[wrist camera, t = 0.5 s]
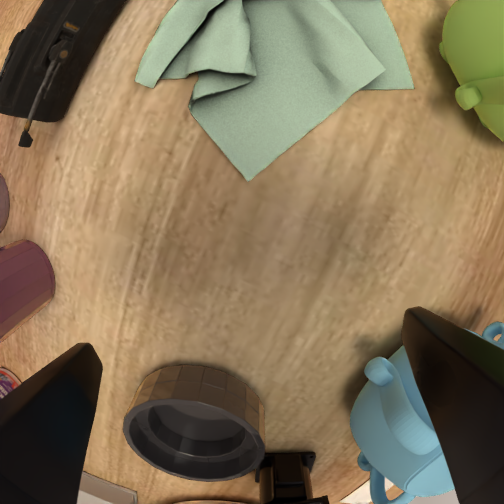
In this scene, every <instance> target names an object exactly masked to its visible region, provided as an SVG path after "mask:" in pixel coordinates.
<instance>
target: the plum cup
mask: <svg viewBox="0 0 504 504" xmlns="http://www.w3.org/2000/svg"><path fill="white" fill-rule="evenodd" d="M54 291H55V277H54V272H53V269H52V266H51V264H50V261H49V259H48V258H47V256H46V254H45V253H44V252H43V250H42V249H41V248H40V247H39V246H38V245H36V244H35V243H33V242H31V241H29V240H19V241H15V242H13V243H10V244H8V245H6V246H3V247H1V248H0V343H2V342H3V341H4V340H5V339H6V338H7V337H9V336H10V335H11V334H12V333H13V332H15V331H16V330H17V329H18V328H19V327H21V326H22V325H23V324H24V323H25V322H27V321H28V320H29V319H30V318H32V317H33V316H34V315H35V314H37V313H38V312H39V311H40V310H42V309H43V308H44V307H45V306H46V305H47V304H48V303H49V302H50V301H51V300H52V298H53V295H54Z"/></svg>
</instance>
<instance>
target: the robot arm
mask: <svg viewBox="0 0 504 504" xmlns="http://www.w3.org/2000/svg"><path fill="white" fill-rule="evenodd" d="M401 337H402V342H403V344H404V347H405V350H406V354H407V357H408V360H409V363H410V366H411V369H412V373H413V376H414V379H415V382H416V385H417V387H418V390H419V392H420V395H421V397H422V400H423V402H424V404H425V407H426V409H427V412H428V414H429V417H430V419H431V422H432V424H433V427H434V430H435V432H436V435H437V438H438V440H439V443H440V446H441V449H442V451H443V454H444V457H445V460H446V463H447V466H448V469H449V472H450V475H451V478H452V481H453V484H454V488H455V491H456V494H457V498H458V501H459V503H460V504H504V349H502V348H500V347H498V346H496V345H494V344H492V343H490V342H488V341H487V340H485V339H483V338H481V337H479V336H477V335H475V334H473V333H471V332H469V331H467V330H465V329H464V328H462V327H460V326H458V325H456V324H454V323H452V322H450V321H448V320H446V319H444V318H442V317H440V316H438V315H436V314H434V313H432V312H430V311H428V310H426V309H424V308H422V307H419V306H418V307H413V308H409V309H407V310H406V311H405V315H404V320H403V326H402V331H401ZM102 371H103V366H102V362H101V360H100V359H99V357H98V355H97V353H96V351H95V350H94V348H93V346H92V345H91V344H90V343H78V344H76V345H75V346H73V347H72V348H70V349H69V350H68V351H66V352H65V353H63V354H62V355H60V356H59V357H58V358H56V359H55V360H53V361H52V362H51V363H49V364H48V365H47V366H45V367H44V368H42V369H41V370H40V371H38V372H37V373H35V374H34V375H33V376H31V377H30V378H29V379H27V380H26V381H24V382H23V383H22V384H20V385H19V386H18V387H16V388H15V389H14V390H12V391H11V392H10V393H8V394H7V395H5V396H4V397H3V398H1V399H0V504H77V501H78V494H79V488H80V482H81V477H82V471H83V466H84V461H85V456H86V451H87V447H88V442H89V438H90V433H91V429H92V425H93V421H94V417H95V412H96V407H97V401H98V394H99V388H100V382H101V377H102ZM315 458H316V454H315V452H303V453H265V454H264V459H263V460H262V461H261V463H260V464H259V465H258V467H257V468H256V474H255V482H257V483H260V504H329V500H328V496H327V495H326V496H322V497H319V498H313V493H312V486H311V479H310V473H311V470H312V467H313V464H314V461H315Z"/></svg>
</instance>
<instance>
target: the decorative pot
mask: <svg viewBox="0 0 504 504" xmlns="http://www.w3.org/2000/svg"><path fill="white" fill-rule="evenodd" d="M465 330H467V329H465ZM467 331H469V332H471V333H473V334H475V335H477V336H479V337H481V338H483V339H485V340H487V341H488V342H490V343H492V344H494V345H496V346H498V347H500V348H502V349H504V323H502V322H494V323H492V324H490V325H489V326H487V327H486V328H485V330H484V331H483V333H482V336H480V335H479V334H477V333H475V332H472V331H470V330H467ZM498 334H502V335H501V337H500V339H499V340H498V341H494V340H493V338H494V337H495V336H496V335H498ZM364 373H365V375H366V376H367V378H368V379H369V381H368V382H367V383H366V384H365V386H364V387H363V388H362V390H361V391H360V393H359V395H358V397H357V399H356V401H355V403H354V405H353V408H352V411H351V414H350V428H351V431H352V434H353V437H354V439H355V441H356V443H357V445H358V446H359V448H360V450H361V453H360V454H359V456H358V460H357V462H358V465H359V467H360V468H361V469H362V470H364V471H370V496H371V500H372V502H373V503H374V504H408V503H409V502H411V501H412V500H413V499H414V498H415V497H416V496H419V497H429V496H435V495H440V494H443V493H446V492H449V491H451V490H453V489H455V488H454V484H453V481H452V478H451V475H450V472H449V469H448V466H447V463H446V460H445V457H444V454H443V451H442V449H441V446H440V443H439V440H438V438H437V435H436V432H435V430H434V427H433V424H432V422H431V419H430V417H429V414H428V412H427V409H426V407H425V404H424V402H423V400H422V397H421V395H420V392H419V390H418V387H417V385H416V382H415V379H414V376H413V373H412V369H411V366H410V363H409V360H408V357H407V354H406V350H405V347H404V345H402V346H401V347H400V348H399V349H398V350H397V351H396V352H395V353H394V354H393V355H392V356H391V357H390V358H389V359H388V360H387V359H385V358H383V357H376V358H373V359H372V360H370V361H369V362H368V363H367V365H366V367H365V369H364ZM369 462H370V463H369ZM385 477H386V478H387V479H388V480H389V481H391V482H392V483H393V484H395V485H396V486H397V487H398V488H400V489H402V490H403V491H404V492H403V493H402V494H401V495H400V496H399V497H397V498H396V499H394V500H391V501H389V500H388V499H387V496H386V492H385Z"/></svg>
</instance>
